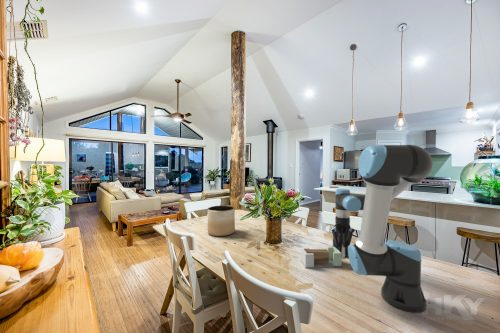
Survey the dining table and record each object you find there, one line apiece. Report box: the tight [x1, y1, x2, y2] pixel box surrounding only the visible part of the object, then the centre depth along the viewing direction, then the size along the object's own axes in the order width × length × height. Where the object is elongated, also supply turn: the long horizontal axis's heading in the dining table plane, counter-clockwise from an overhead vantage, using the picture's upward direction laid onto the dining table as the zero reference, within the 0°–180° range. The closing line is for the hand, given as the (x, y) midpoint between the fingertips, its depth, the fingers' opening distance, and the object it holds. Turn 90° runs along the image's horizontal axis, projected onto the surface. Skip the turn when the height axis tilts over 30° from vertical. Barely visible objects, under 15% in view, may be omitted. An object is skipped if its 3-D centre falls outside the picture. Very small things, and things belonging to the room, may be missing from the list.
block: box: [305, 248, 329, 265], centre depth 122 cm, size 4×12×7 cm, turn 88°
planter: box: [207, 204, 236, 237], centre depth 176 cm, size 22×22×20 cm
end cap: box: [326, 246, 343, 266], centre depth 122 cm, size 9×4×7 cm, turn 2°
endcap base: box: [300, 247, 343, 269], centre depth 122 cm, size 9×20×7 cm, turn 92°
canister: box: [332, 225, 349, 257], centre depth 134 cm, size 10×10×18 cm
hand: (342, 258), depth 122 cm, fingers closed
